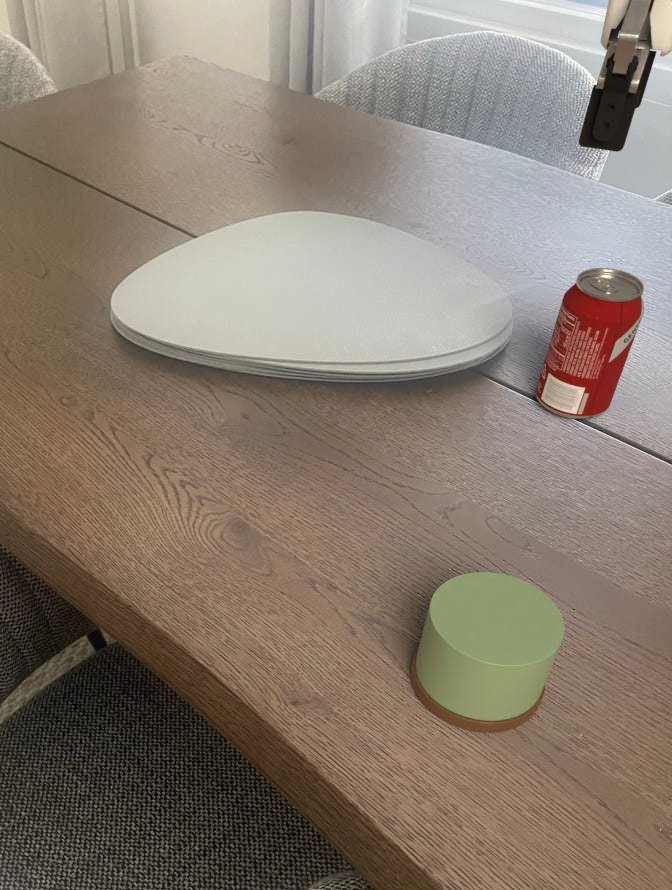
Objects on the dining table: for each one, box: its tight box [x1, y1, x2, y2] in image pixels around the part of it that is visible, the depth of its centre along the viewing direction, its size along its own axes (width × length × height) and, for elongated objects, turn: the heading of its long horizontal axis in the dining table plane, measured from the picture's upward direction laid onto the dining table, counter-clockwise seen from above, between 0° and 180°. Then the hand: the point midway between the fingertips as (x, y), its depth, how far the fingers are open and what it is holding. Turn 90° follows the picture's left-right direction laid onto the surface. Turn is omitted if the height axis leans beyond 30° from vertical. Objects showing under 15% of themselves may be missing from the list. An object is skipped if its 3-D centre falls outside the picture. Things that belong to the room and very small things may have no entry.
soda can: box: [535, 267, 646, 420], centre depth 87 cm, size 7×7×12 cm
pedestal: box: [409, 571, 566, 733], centre depth 65 cm, size 9×9×6 cm
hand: (609, 125), depth 75 cm, fingers open, 9 cm apart
